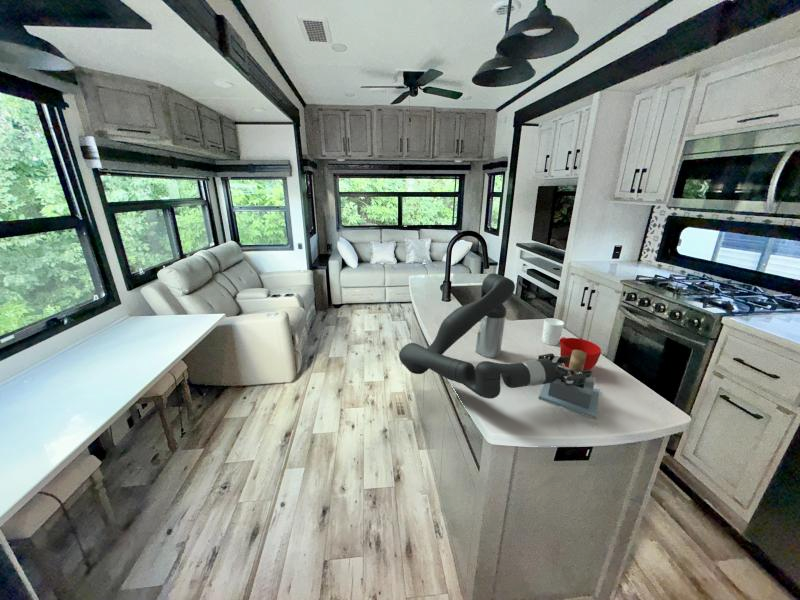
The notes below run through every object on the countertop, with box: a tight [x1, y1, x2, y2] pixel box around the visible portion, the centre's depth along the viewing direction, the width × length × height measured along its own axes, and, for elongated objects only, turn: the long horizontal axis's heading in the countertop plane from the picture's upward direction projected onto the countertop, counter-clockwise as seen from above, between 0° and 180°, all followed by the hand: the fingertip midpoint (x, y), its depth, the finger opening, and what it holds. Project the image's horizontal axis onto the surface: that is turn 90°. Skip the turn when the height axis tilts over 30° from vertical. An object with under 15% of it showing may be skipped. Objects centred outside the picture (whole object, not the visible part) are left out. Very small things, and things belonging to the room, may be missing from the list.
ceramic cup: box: [559, 337, 602, 371], centre depth 118 cm, size 13×17×10 cm
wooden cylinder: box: [565, 350, 587, 387], centre depth 99 cm, size 4×4×15 cm
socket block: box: [538, 375, 601, 420], centre depth 101 cm, size 16×16×6 cm
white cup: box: [541, 317, 565, 346], centre depth 137 cm, size 8×8×10 cm
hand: (579, 365), depth 98 cm, fingers open, 8 cm apart
